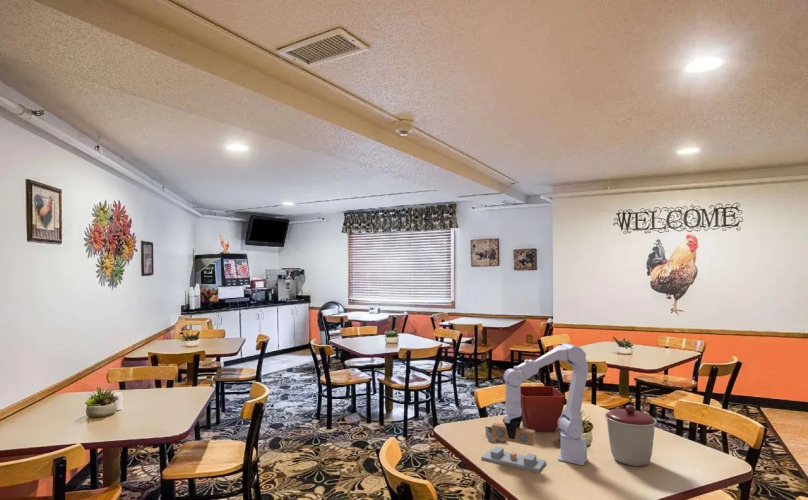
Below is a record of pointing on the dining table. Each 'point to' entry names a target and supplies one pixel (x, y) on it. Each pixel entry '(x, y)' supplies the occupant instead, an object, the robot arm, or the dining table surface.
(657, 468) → the dining table surface
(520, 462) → the display stand
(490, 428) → the stone castle ruin
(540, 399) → the plant pot
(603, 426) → the dining table surface
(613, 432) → the canister
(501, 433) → the brown bar
